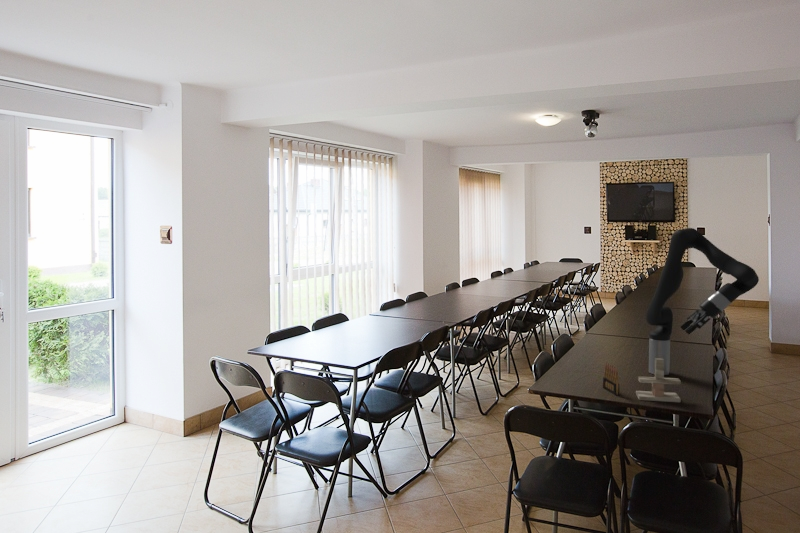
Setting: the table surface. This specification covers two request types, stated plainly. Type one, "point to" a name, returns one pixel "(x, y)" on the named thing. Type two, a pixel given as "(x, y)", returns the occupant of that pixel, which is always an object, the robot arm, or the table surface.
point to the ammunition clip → (611, 379)
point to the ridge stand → (658, 394)
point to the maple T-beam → (659, 375)
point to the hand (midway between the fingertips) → (684, 330)
